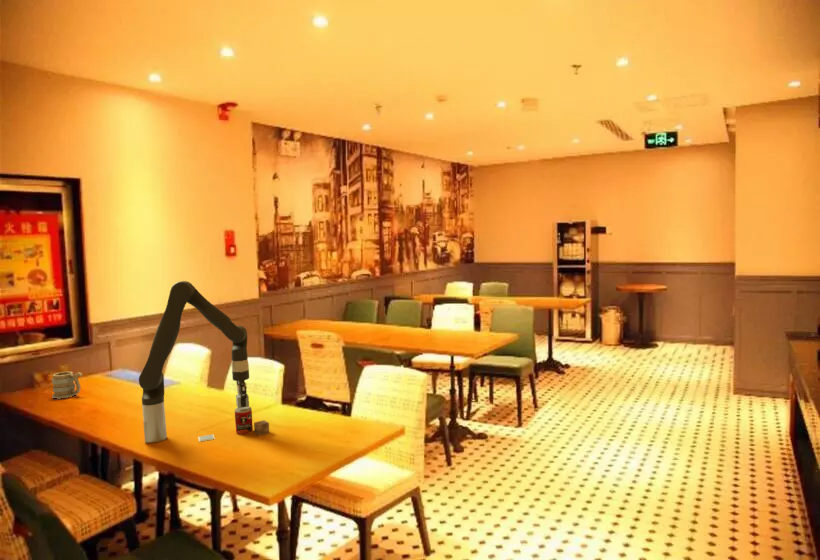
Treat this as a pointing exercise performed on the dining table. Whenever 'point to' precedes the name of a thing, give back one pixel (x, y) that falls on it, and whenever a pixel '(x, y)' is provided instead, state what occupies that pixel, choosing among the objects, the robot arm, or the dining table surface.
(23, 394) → the dining table surface
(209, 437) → the swatch
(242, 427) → the canned food
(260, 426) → the walnut block
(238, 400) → the light grey cube
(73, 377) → the tankard
